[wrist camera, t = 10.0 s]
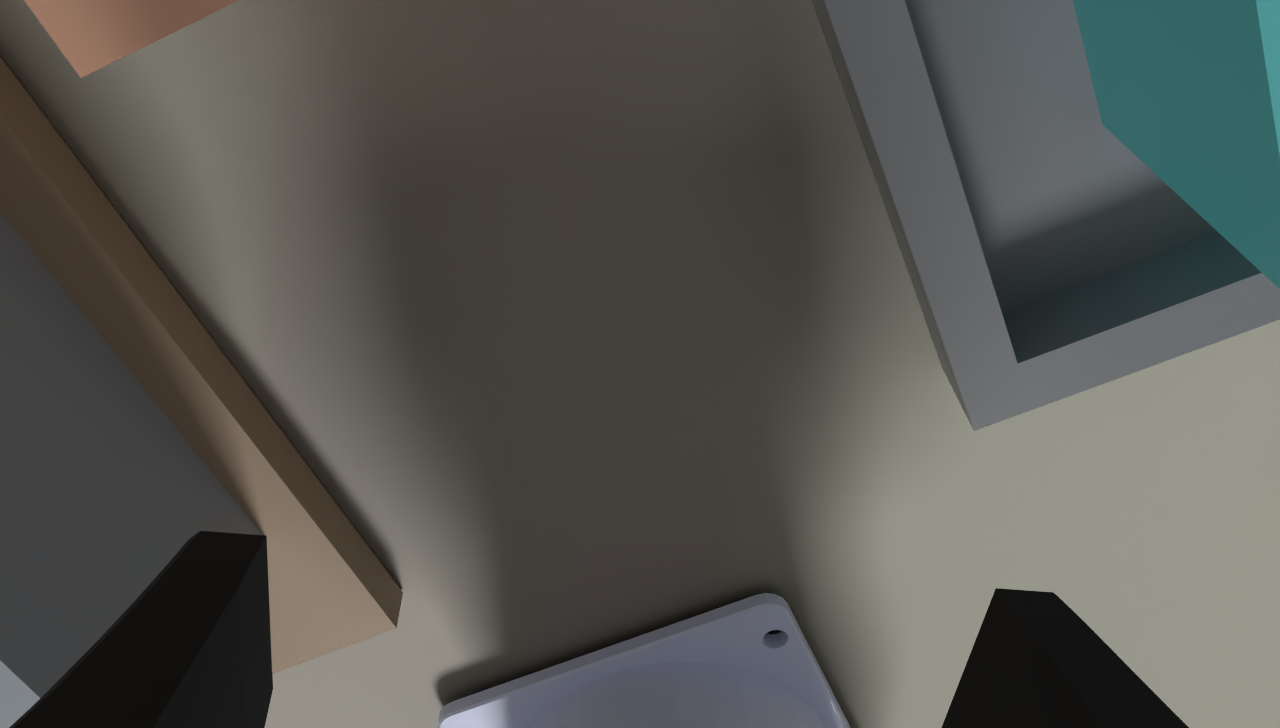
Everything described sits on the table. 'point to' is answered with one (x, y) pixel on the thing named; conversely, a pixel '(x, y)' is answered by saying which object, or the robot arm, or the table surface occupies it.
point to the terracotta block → (114, 26)
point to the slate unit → (134, 439)
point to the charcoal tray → (1027, 204)
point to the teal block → (1197, 105)
